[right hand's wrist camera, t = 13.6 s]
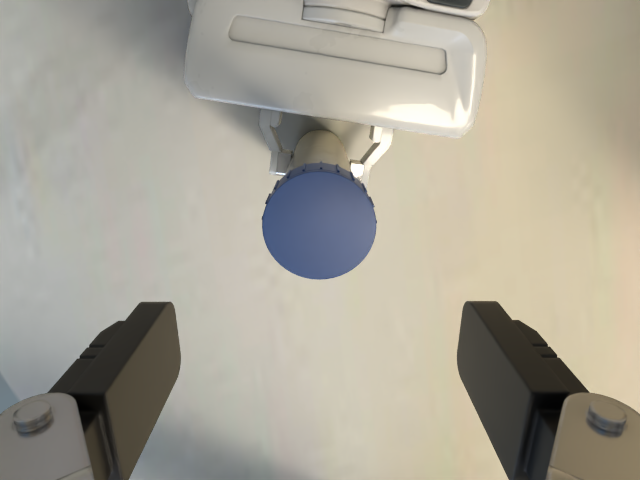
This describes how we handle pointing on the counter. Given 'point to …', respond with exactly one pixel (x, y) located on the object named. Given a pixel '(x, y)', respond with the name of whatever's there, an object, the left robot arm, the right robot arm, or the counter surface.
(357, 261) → the lid
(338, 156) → the metal cylinder
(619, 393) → the counter surface
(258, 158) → the counter surface
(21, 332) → the counter surface
